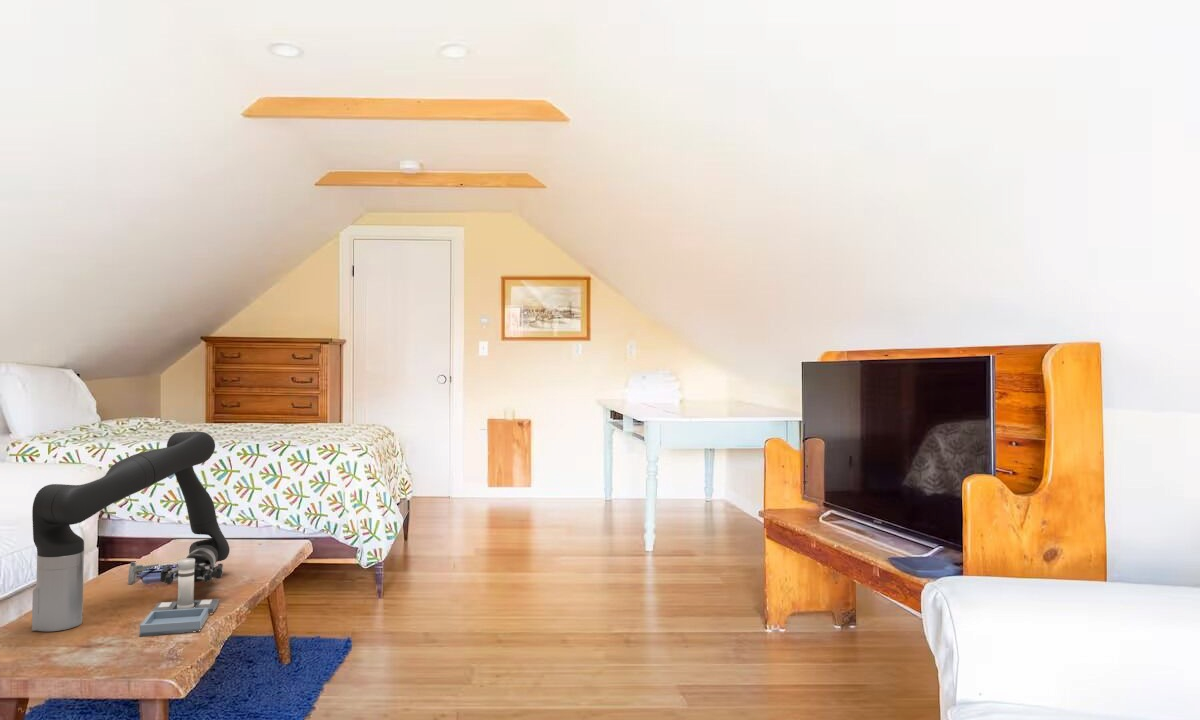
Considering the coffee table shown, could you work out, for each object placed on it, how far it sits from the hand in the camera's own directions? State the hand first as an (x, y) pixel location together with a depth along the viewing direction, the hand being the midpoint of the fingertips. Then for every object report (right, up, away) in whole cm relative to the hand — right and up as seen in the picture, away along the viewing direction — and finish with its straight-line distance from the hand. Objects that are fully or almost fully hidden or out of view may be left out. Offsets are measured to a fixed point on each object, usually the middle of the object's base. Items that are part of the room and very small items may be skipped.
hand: (187, 579), depth 203 cm
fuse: (+1, -8, -2) cm, 8 cm away
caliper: (-28, -8, +31) cm, 43 cm away
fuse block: (+1, -8, -2) cm, 8 cm away
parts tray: (+4, -8, -13) cm, 16 cm away
